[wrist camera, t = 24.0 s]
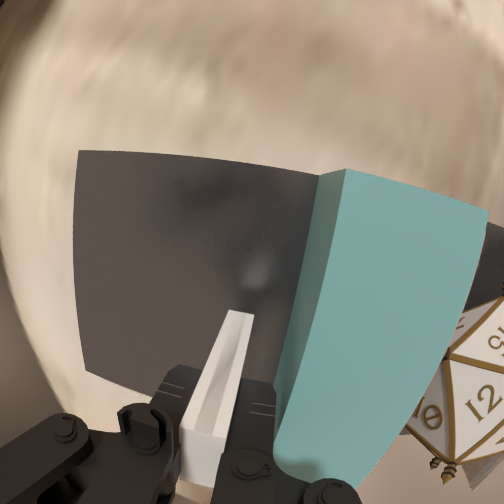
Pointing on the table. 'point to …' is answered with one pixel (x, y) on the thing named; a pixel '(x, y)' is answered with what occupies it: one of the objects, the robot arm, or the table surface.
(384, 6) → the table surface
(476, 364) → the game die
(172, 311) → the vise bed
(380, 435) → the block
